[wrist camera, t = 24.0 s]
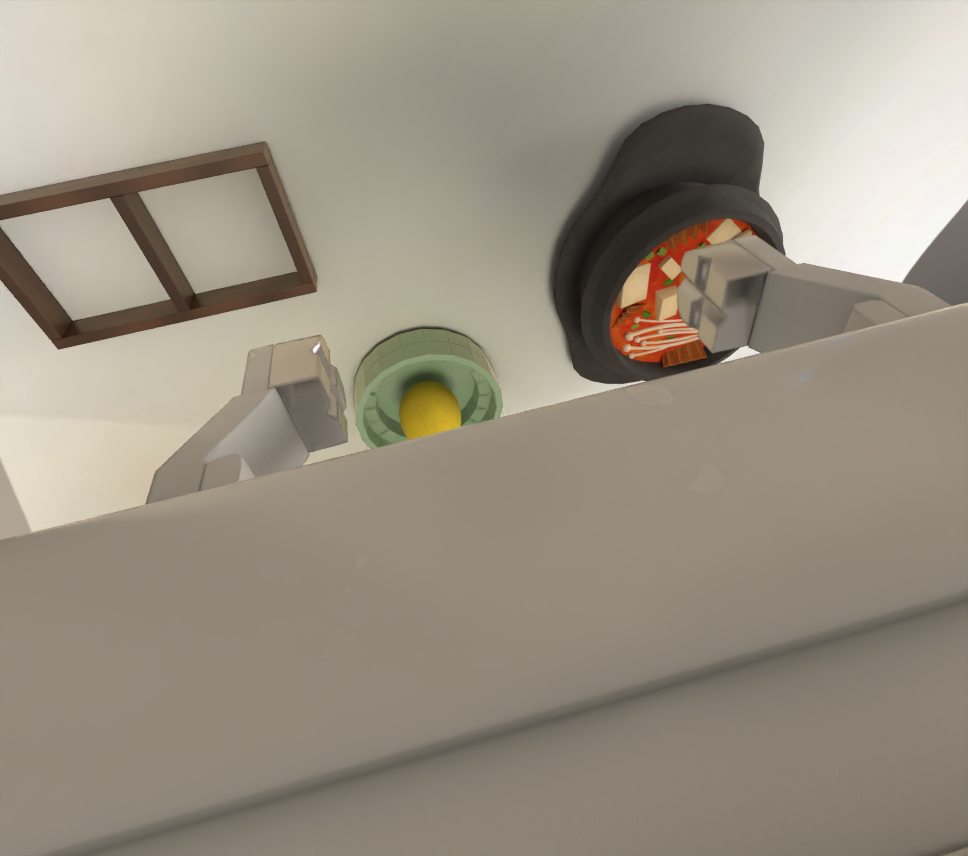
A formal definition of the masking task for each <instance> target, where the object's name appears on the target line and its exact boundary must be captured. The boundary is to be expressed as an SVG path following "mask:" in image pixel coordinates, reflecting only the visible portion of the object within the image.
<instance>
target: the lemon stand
mask: <svg viewBox="0 0 968 856" xmlns="http://www.w3.org/2000/svg"><path fill="white" fill-rule="evenodd" d="M252 168H256V169H257V171H258V174H259V176H260V179H261V181H262V184H263V186H264V189H265V191H266V194H267V196H268V199H269V201H270V204H271V206H272V209H273V211H274V214H275V216H276V219H277V221H278V224H279V226H280V229H281V231H282V234H283V236H284V239H285V241H286V244H287V246H288V249H289V251H290V254H291V256H292V259H293V261H294V264H295V266H296V269H297V271H298V272H296V273H291V274H286V275H282V276H277V277H273V278H268V279H264V280H259V281H255V282H250V283H246V284H241V285H236V286H232V287H227V288H223V289H218V290H214V291H209V292H205V293H200V294H196V295H195V294H194V292H193V290H192V288H191V287H190V285H189V283H188V281H187V280H186V278H185V276H184V274H183V273H182V271H181V269H180V267H179V265H178V264H177V262H176V260H175V258H174V257H173V255H172V253H171V251H170V250H169V248H168V246H167V244H166V242H165V241H164V239H163V237H162V235H161V234H160V232H159V230H158V228H157V227H156V225H155V223H154V221H153V219H152V218H151V216H150V214H149V212H148V211H147V209H146V207H145V205H144V204H143V202H142V200H141V198H140V196H139V195H138V193H137V192H140V191H145V190H150V189H155V188H159V187H164V186H169V185H174V184H179V183H184V182H189V181H193V180H198V179H203V178H208V177H213V176H218V175H223V174H227V173H232V172H237V171H242V170H247V169H252ZM106 198H110V199H111V201H112V202H113V204H114V206H115V207H116V209H117V211H118V212H119V214H120V216H121V217H122V219H123V220H124V222H125V224H126V225H127V227H128V229H129V230H130V232H131V234H132V235H133V237H134V239H135V240H136V242H137V244H138V245H139V247H140V249H141V250H142V252H143V254H144V255H145V257H146V259H147V260H148V262H149V263H150V265H151V267H152V268H153V270H154V272H155V273H156V275H157V277H158V278H159V280H160V282H161V283H162V285H163V287H164V288H165V290H166V292H167V293H168V295H169V297H170V298H171V300H168V301H164V302H159V303H155V304H150V305H146V306H141V307H136V308H132V309H127V310H123V311H118V312H114V313H109V314H105V315H100V316H96V317H91V318H87V319H82V320H77V321H73V322H72V320H71V319H70V318H69V316H68V315H67V314H66V312H65V311H64V310H63V309H62V307H61V306H60V305H59V303H58V302H57V301H56V300H55V298H54V297H53V296H52V294H51V293H50V292H49V291H48V289H47V288H46V287H45V285H44V284H43V283H42V282H41V280H40V279H39V278H38V276H37V275H36V274H35V273H34V271H33V270H32V269H31V267H30V266H29V265H28V263H27V262H26V261H25V260H24V258H23V257H22V256H21V254H20V253H19V252H18V251H17V249H16V248H15V247H14V245H13V244H12V243H11V242H10V240H9V239H8V238H7V236H6V235H5V234H4V233H3V231H2V230H1V229H0V280H1V281H2V282H3V283H4V285H5V286H6V287H7V288H8V289H9V291H10V292H11V293H12V294H13V295H14V297H15V298H16V299H17V300H18V301H19V303H20V304H21V305H22V306H23V308H24V309H25V310H26V311H27V312H28V314H29V315H30V316H31V317H32V318H33V320H34V321H35V322H36V323H37V324H38V326H39V327H40V328H41V329H42V330H43V332H44V333H45V334H46V335H47V336H48V338H49V339H50V340H52V343H53V344H54V345H55V346H56V347H57V349H63V348H68V347H72V346H77V345H81V344H86V343H90V342H95V341H99V340H103V339H108V338H112V337H117V336H121V335H126V334H130V333H135V332H139V331H144V330H148V329H153V328H157V327H162V326H166V325H171V324H175V323H180V322H184V321H189V320H193V319H198V318H202V317H207V316H211V315H216V314H220V313H224V312H229V311H233V310H238V309H242V308H247V307H251V306H256V305H260V304H265V303H269V302H274V301H278V300H283V299H287V298H292V297H296V296H301V295H305V294H310V293H314V292H317V276H316V273H315V270H314V269H313V265H312V262H311V260H310V257H309V254H308V252H307V249H306V247H305V244H304V241H303V239H302V236H301V233H300V231H299V228H298V225H297V223H296V220H295V217H294V215H293V212H292V209H291V207H290V204H289V201H288V199H287V196H286V193H285V191H284V188H283V185H282V183H281V180H280V178H279V175H278V172H277V170H276V167H275V164H274V162H273V159H272V156H271V155H270V151H269V148H268V146H267V143H266V142H261V143H256V144H251V145H246V146H241V147H236V148H231V149H226V150H221V151H216V152H211V153H206V154H201V155H197V156H192V157H187V158H182V159H177V160H172V161H167V162H162V163H157V164H152V165H147V166H142V167H137V168H132V169H128V170H123V171H118V172H113V173H108V174H103V175H98V176H93V177H88V178H83V179H78V180H73V181H68V182H63V183H58V184H54V185H49V186H44V187H39V188H34V189H29V190H24V191H19V192H14V193H9V194H4V195H0V220H4V219H9V218H14V217H18V216H23V215H28V214H33V213H38V212H43V211H48V210H52V209H57V208H62V207H67V206H72V205H77V204H82V203H86V202H91V201H96V200H101V199H106Z"/></svg>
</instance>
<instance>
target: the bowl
mask: <svg viewBox="0 0 968 856" xmlns="http://www.w3.org/2000/svg"><path fill="white" fill-rule="evenodd" d="M423 381H434V382H438V383H441V384H443V385H445V386H446V387H447V388H449V389H450V390H451V391H452V393H453V394H454V395H455V397H456V398H457V401H458V403H459V407H460V410H461V427H463V426H467V425H472V424H476V423H480V422H484V421H488V420H492V419H496V418H500V415H501V411H502V407H503V404H502V397H501V390H500V387H499V384H498V382H497V379H496V376H495V374H494V371H493V369H492V366H491V364H490V362H489V360H488V359H487V357H486V355H485V354H484V352H483V350H482V349H481V348H480V347H479V346H477V345H476V344H475V343H473V342H472V341H471V340H470V339H468V338H467V337H465V336H462V335H459V334H456V333H453V332H450V331H448V330H440V329H419V330H414V331H410V332H406V333H401V334H399V335H396V336H394V337H392V338H391V339H389V340H387V341H385V342H383V343H382V344H380V345H379V346H377V347H376V348H375V349H374V350H373V351H372V352H371V353H370V354H369V355H368V356H367V357H366V358H365V359H364V360H363V362H362V364H361V366H360V369H359V371H358V373H357V375H356V377H355V390H354V399H355V414H356V425H357V427H358V430H359V432H360V435H361V437H362V440H363V441H364V442H365V443H366V444H367V445H368V446H369V447H370V448H371V449H374V448H378V447H382V446H386V445H390V444H394V443H398V442H402V441H406V440H408V438H407V437H406V435H405V434H404V432H403V430H402V427H401V423H400V419H399V409H400V403H401V400H402V398H403V396H404V394H405V393H406V392H407V390H408V389H409V388H411V387H412V386H413V385H415V384H417V383H419V382H423Z"/></svg>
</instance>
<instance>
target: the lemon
mask: <svg viewBox="0 0 968 856" xmlns="http://www.w3.org/2000/svg"><path fill="white" fill-rule="evenodd" d="M399 419H400V423H401V427H402V430H403V432H404V434H405V435H406V437H407V438H408V440H410V439H415V438H419V437H423V436H427V435H431V434H435V433H439V432H443V431H447V430H451V429H455V428H459V427H461V410H460V407H459V403H458V401H457V398H456V397H455V395H454V394H453V393H452V391H451V390H450V389H449V388H447V387H446V386H445V385H443V384H441V383H438V382H434V381H423V382H419V383H417V384H415V385H413V386H412V387H411V388H409V389H408V390H407V392H406V393H405V394H404V396H403V398H402V400H401V403H400V409H399Z"/></svg>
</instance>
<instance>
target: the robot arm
mask: <svg viewBox="0 0 968 856" xmlns="http://www.w3.org/2000/svg"><path fill="white" fill-rule="evenodd" d="M680 270H681V272H682V273H683V274H684V276H685V277H686V278H685V279H684V280H683V282H682V283H681V284H680V286H679V287H678V292H677V306H678V312H679V314H680V316H681V318H682V320H683V321H684V323H685V324H686V325H687V326H688V327H691V328H694V329H697V330H699V331H698V338H699V339H700V340H701V341H702V343H703V344H704V345H705V346H706V347H707V348H708V349H709V350H710V351H711V352H712V353H716V352H721V351H725V350H730V349H735V348H739V347H744V346H748V345H749V346H748V347H749V348H751V349H754V350H756V351H758V352H760V354H756V355H752V356H748V357H744V358H740V359H736V360H732V361H728V362H724V363H720V364H716V365H712V366H708V367H703V368H699V369H695V370H691V371H687V372H683V373H679V374H675V375H671V376H667V377H663V378H659V379H655V380H651V381H647V382H642V383H638V384H634V385H630V386H626V387H622V388H618V389H614V390H610V391H606V392H602V393H598V394H594V395H590V396H586V397H581V398H577V399H573V400H569V401H565V402H561V403H557V404H553V405H549V406H545V407H541V408H537V409H533V410H529V411H524V412H520V413H516V414H512V415H508V416H504V417H500V418H496V419H492V420H488V421H484V422H480V423H476V424H472V425H467V426H463V427H459V428H455V429H451V430H447V431H443V432H439V433H435V434H431V435H427V436H423V437H419V438H415V439H410V440H406V441H402V442H398V443H394V444H390V445H386V446H382V447H378V448H374V449H370V450H366V451H362V452H358V453H354V454H349V455H345V456H341V457H337V458H333V459H329V460H325V461H321V462H317V463H313V464H309V465H305V466H303V464H304V463H305V461H306V460H307V458H308V457H309V455H310V454H309V453H310V452H314V451H317V450H321V449H325V448H328V447H332V446H336V445H339V444H343V443H347V442H348V433H347V420H346V418H345V415H344V413H343V412H344V410H345V409H346V398H345V393H344V388H343V385H342V381H341V378H340V375H339V373H338V370H337V368H336V367H334V366H333V365H331V364H330V350H329V348H328V346H327V343H326V341H325V339H324V337H323V336H322V335H317V336H312V337H307V338H303V339H298V340H293V341H288V342H283V343H279V344H275V345H273V344H272V345H268V346H264V347H260V348H256V349H252V350H251V351H249V353H248V358H247V364H246V370H245V375H244V381H243V386H242V392H241V395H240V396H236V397H234V398H232V399H231V400H230V401H229V402H228V403H227V404H226V405H225V406H224V407H223V408H222V409H221V410H220V411H219V412H218V413H217V414H216V415H215V416H213V417H212V418H211V419H210V420H209V421H208V422H207V423H206V424H205V425H204V426H203V427H202V428H201V429H200V430H199V431H198V432H197V433H195V434H194V435H193V436H192V437H191V438H190V439H189V440H188V441H187V442H186V443H185V444H184V445H183V446H182V447H181V448H180V449H179V450H178V451H176V452H175V453H174V454H173V455H172V456H171V457H170V458H169V459H168V460H167V461H166V462H165V463H164V464H163V465H162V466H161V467H160V468H159V469H157V470H156V471H155V475H154V478H153V481H152V484H151V487H150V491H149V494H148V497H147V500H146V503H145V505H142V506H138V507H134V508H129V509H125V510H121V511H117V512H113V513H109V514H105V515H101V516H97V517H93V518H89V519H85V520H81V521H76V522H72V523H68V524H64V525H60V526H56V527H52V528H48V529H44V530H40V531H36V532H32V533H28V534H23V535H19V536H15V537H11V538H7V539H3V540H0V856H968V303H964V304H960V305H956V306H951V305H949V304H948V303H946V302H945V301H943V300H941V299H939V298H938V297H936V296H934V295H933V294H931V293H930V292H928V291H926V290H925V289H923V288H921V287H918V286H914V285H908V284H903V283H899V282H894V281H889V280H884V279H879V278H874V277H869V276H864V275H860V274H855V273H850V272H845V271H840V270H835V269H830V268H825V267H820V266H815V265H810V264H806V263H802V264H798V265H797V264H796V263H794V262H793V261H791V260H790V259H789V258H787V257H786V256H784V255H783V254H782V253H780V252H779V251H777V250H776V249H774V248H773V247H772V246H770V245H769V244H767V243H766V242H765V241H763V240H762V239H760V238H759V237H757V236H756V235H747V236H744V237H740V238H736V239H733V240H729V241H725V242H721V243H717V244H713V245H709V246H705V247H701V248H698V249H694V250H690V251H687V252H685V254H684V256H683V258H682V263H681V269H680Z"/></svg>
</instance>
